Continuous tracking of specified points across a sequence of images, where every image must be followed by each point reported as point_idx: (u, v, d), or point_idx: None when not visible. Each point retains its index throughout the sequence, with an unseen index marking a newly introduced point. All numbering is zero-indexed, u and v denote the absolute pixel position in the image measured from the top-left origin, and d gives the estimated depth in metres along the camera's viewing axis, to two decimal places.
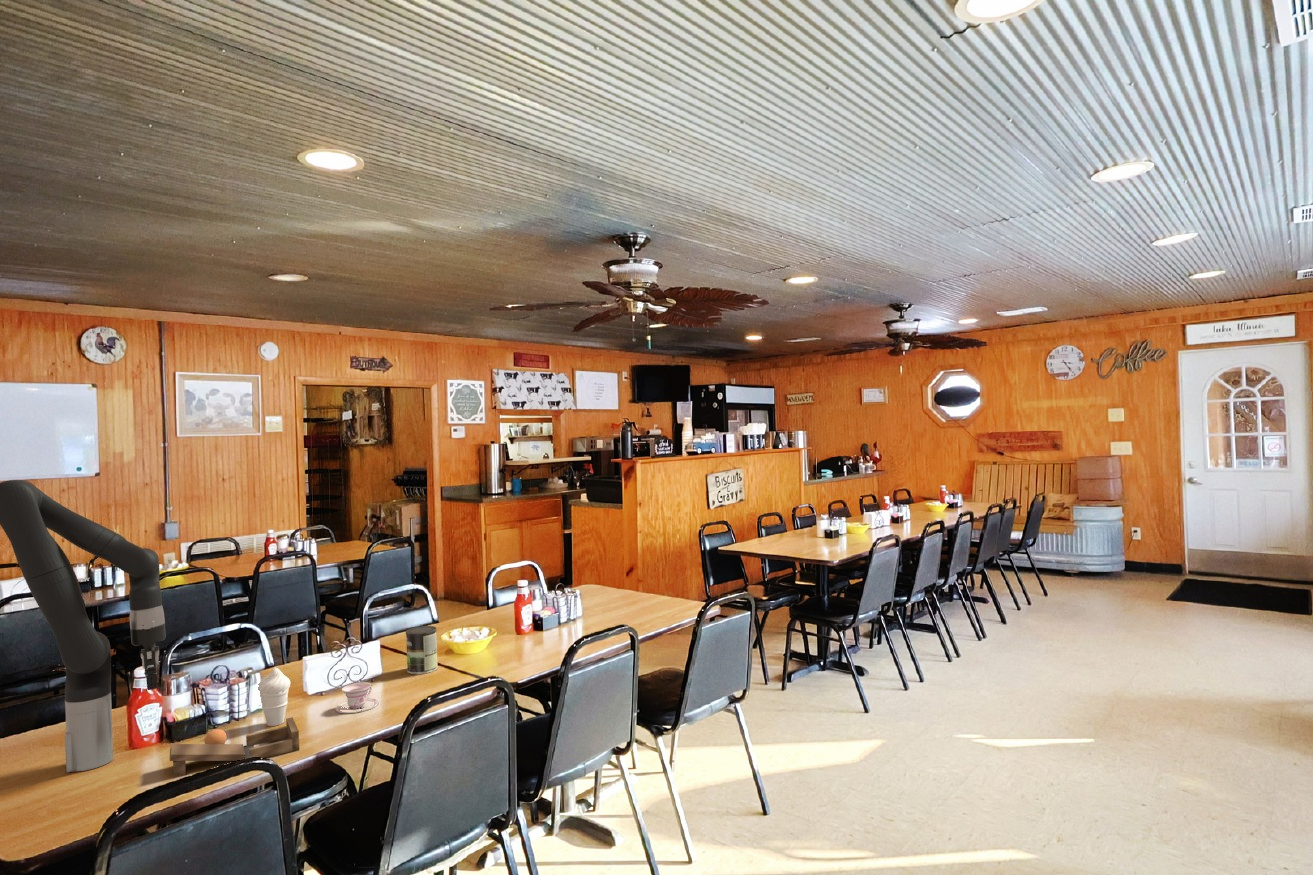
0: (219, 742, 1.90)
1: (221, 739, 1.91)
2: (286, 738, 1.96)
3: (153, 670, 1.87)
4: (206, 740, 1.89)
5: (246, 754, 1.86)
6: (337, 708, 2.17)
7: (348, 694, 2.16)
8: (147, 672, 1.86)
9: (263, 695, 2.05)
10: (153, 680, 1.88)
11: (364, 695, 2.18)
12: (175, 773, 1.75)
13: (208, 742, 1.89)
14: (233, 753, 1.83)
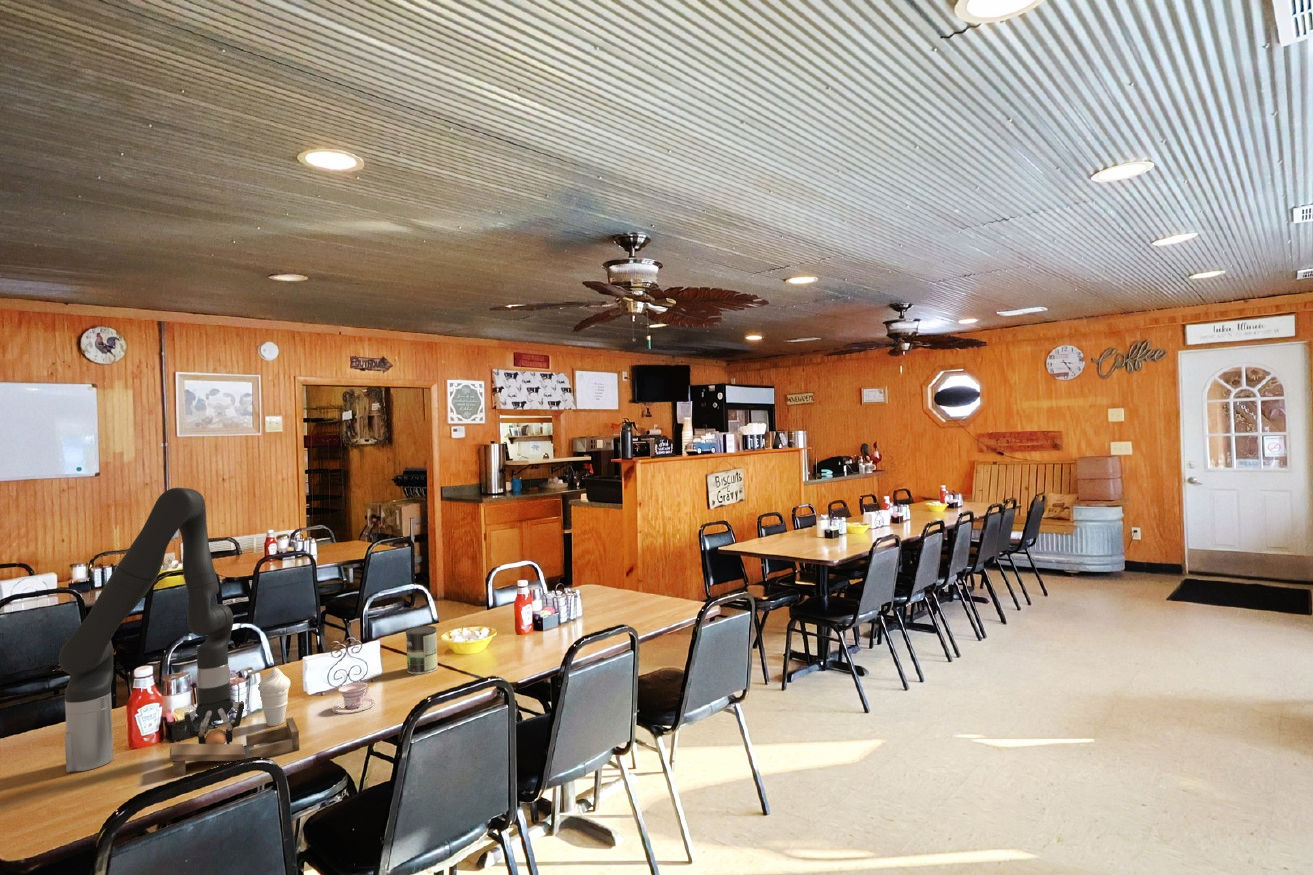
0: (219, 742, 1.90)
1: (221, 740, 1.91)
2: (286, 738, 1.96)
3: None
4: (206, 740, 1.89)
5: (246, 754, 1.86)
6: (334, 708, 2.17)
7: (345, 694, 2.16)
8: None
9: (263, 695, 2.05)
10: None
11: (361, 695, 2.18)
12: (175, 773, 1.75)
13: (208, 742, 1.89)
14: (233, 753, 1.83)
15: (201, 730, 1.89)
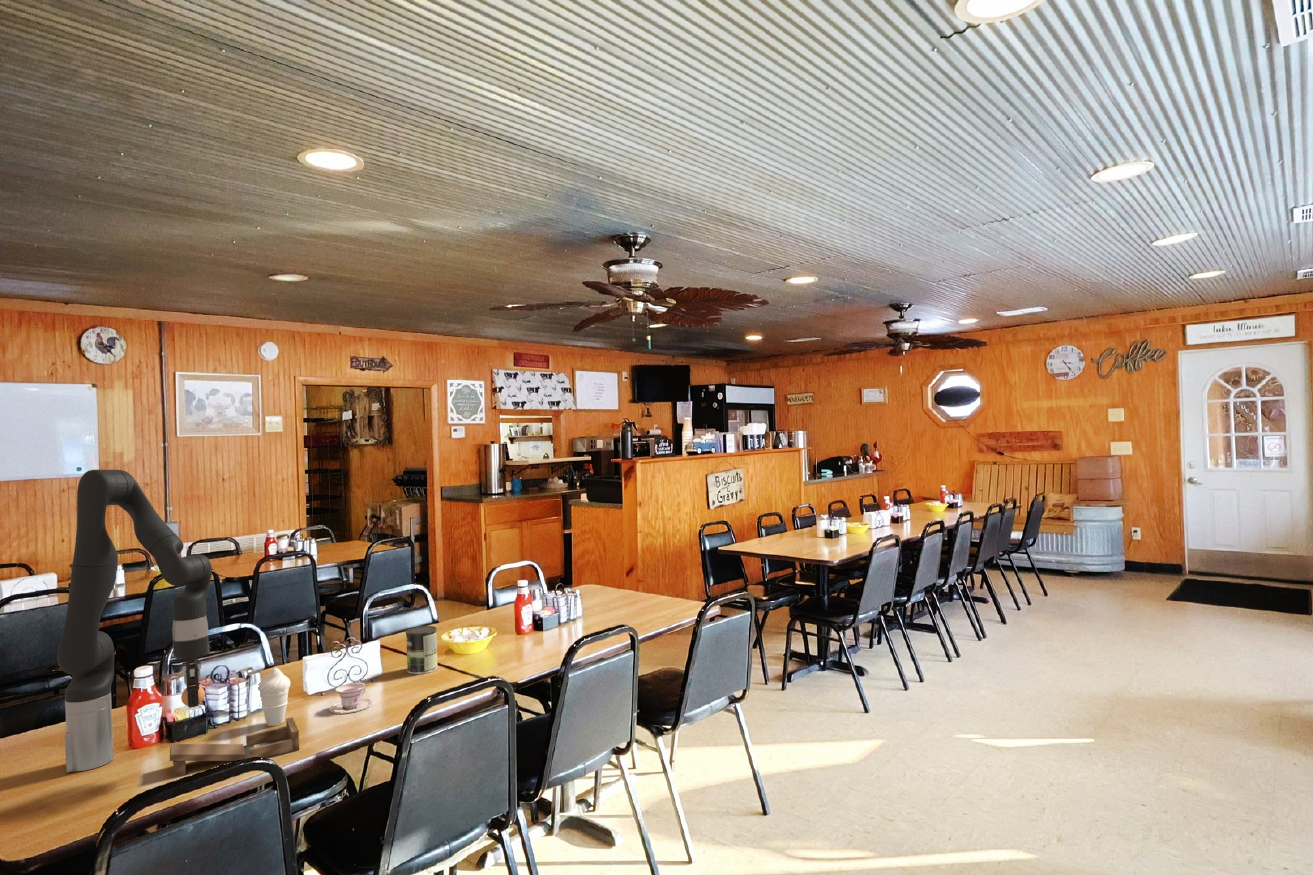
0: None
1: None
2: (286, 738, 1.96)
3: None
4: (198, 694, 1.81)
5: (246, 754, 1.86)
6: (331, 708, 2.17)
7: (342, 694, 2.16)
8: None
9: (263, 695, 2.05)
10: None
11: (358, 695, 2.18)
12: (175, 773, 1.75)
13: (201, 695, 1.82)
14: (233, 753, 1.83)
15: None
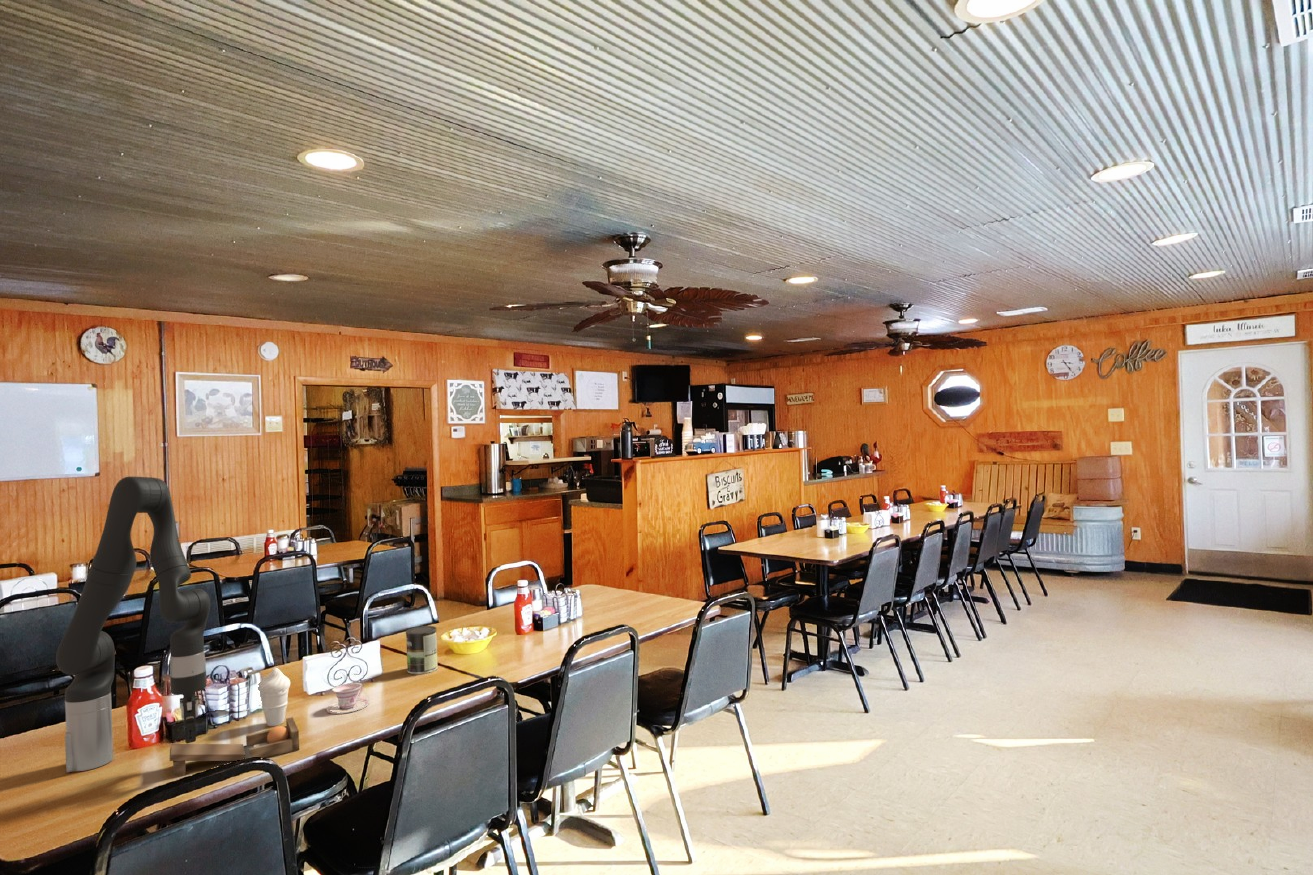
0: None
1: None
2: None
3: None
4: None
5: (246, 754, 1.86)
6: (328, 708, 2.18)
7: (338, 694, 2.16)
8: None
9: (263, 695, 2.05)
10: None
11: (354, 695, 2.18)
12: (175, 773, 1.75)
13: None
14: (233, 753, 1.83)
15: None
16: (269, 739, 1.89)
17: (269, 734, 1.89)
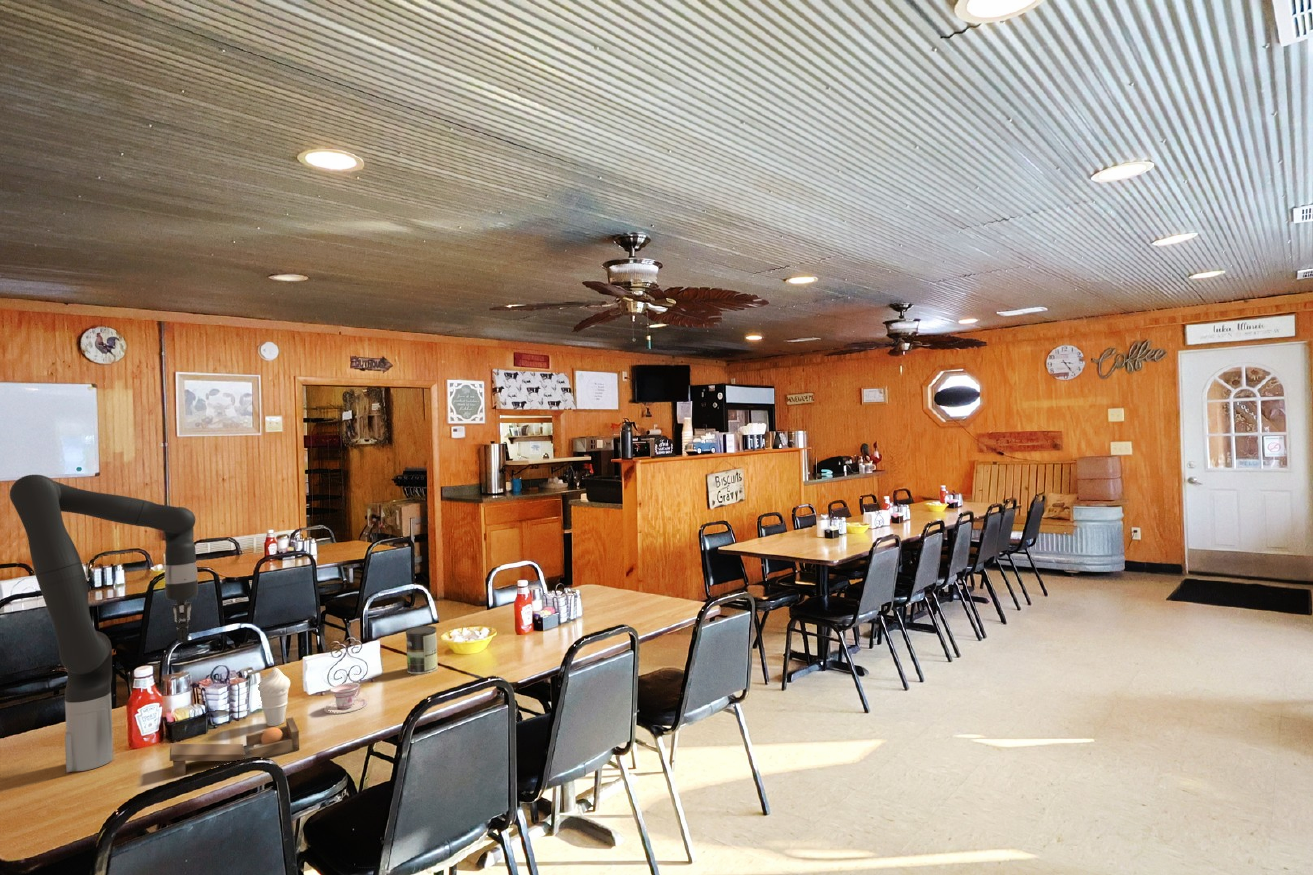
0: None
1: None
2: (286, 738, 1.96)
3: None
4: None
5: (246, 754, 1.86)
6: (326, 708, 2.18)
7: (336, 694, 2.16)
8: None
9: (263, 695, 2.05)
10: None
11: (352, 695, 2.18)
12: (175, 773, 1.75)
13: None
14: (233, 753, 1.83)
15: (187, 621, 1.96)
16: (264, 744, 1.88)
17: (262, 740, 1.89)
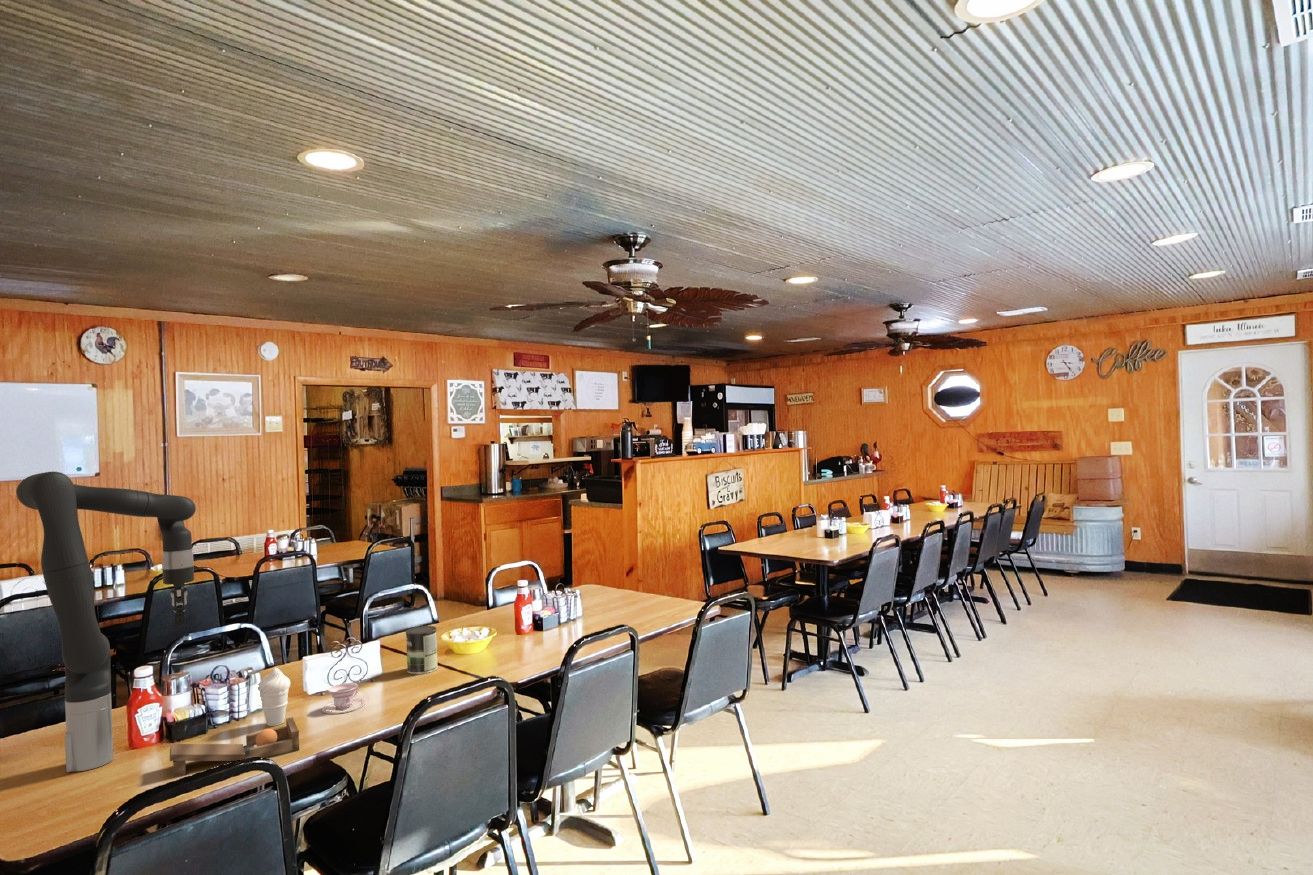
0: None
1: None
2: (286, 738, 1.96)
3: None
4: (272, 741, 1.89)
5: (246, 754, 1.86)
6: (323, 708, 2.18)
7: (334, 694, 2.16)
8: None
9: (263, 695, 2.05)
10: None
11: (350, 696, 2.18)
12: (175, 773, 1.75)
13: None
14: (233, 753, 1.83)
15: None
16: None
17: None
